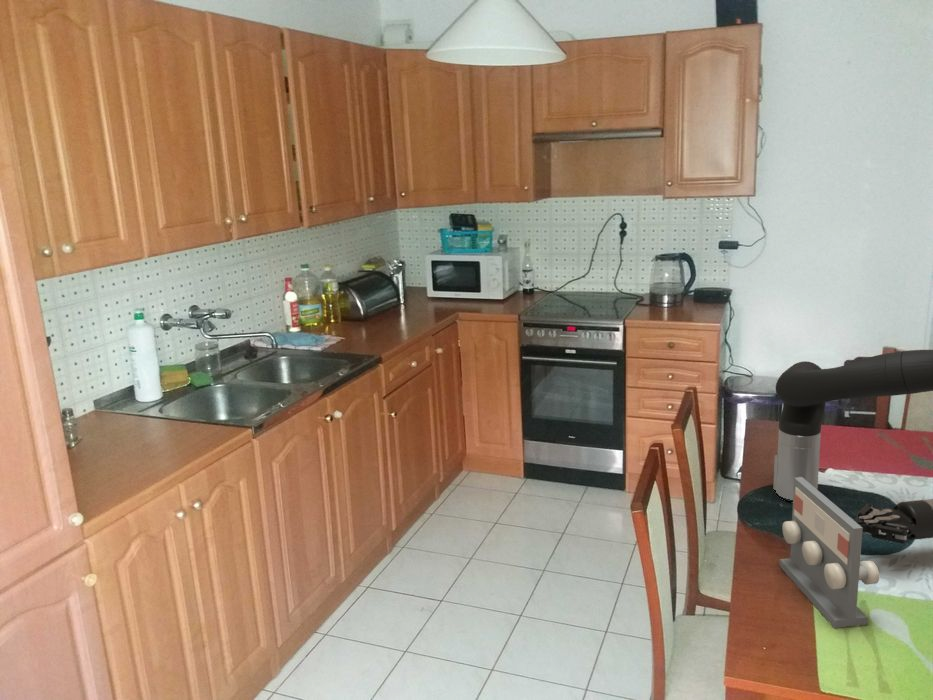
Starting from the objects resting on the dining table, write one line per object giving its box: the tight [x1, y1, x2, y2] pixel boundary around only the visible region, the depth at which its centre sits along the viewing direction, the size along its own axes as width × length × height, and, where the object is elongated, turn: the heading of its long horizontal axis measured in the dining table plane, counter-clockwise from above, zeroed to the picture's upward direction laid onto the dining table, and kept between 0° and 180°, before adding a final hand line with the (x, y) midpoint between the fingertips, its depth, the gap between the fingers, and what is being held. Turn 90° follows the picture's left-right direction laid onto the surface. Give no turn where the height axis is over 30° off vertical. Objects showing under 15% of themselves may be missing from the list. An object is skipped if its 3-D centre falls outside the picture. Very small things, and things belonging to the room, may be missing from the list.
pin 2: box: [824, 560, 880, 589], centre depth 136 cm, size 8×4×4 cm, turn 94°
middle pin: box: [802, 541, 823, 565], centre depth 144 cm, size 8×4×4 cm, turn 94°
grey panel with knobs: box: [778, 477, 868, 629], centre depth 143 cm, size 6×21×20 cm, turn 4°
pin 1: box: [781, 520, 802, 545], centre depth 151 cm, size 8×4×4 cm, turn 94°
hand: (843, 527), depth 152 cm, fingers closed
